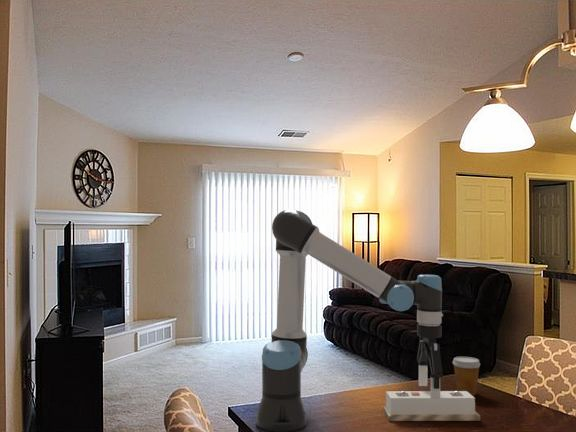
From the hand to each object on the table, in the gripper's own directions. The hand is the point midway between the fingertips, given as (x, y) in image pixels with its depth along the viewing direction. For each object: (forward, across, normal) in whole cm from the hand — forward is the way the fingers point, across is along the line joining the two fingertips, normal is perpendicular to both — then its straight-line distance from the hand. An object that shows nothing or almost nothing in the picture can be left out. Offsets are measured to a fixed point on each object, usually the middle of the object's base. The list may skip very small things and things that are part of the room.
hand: (428, 392), depth 161 cm
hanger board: (+7, 0, 0) cm, 7 cm away
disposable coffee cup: (+7, +23, -20) cm, 31 cm away
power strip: (+6, 0, 0) cm, 6 cm away
